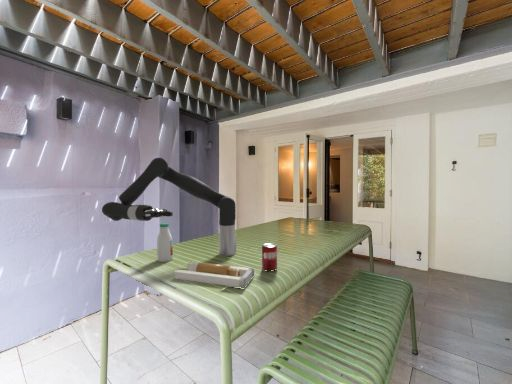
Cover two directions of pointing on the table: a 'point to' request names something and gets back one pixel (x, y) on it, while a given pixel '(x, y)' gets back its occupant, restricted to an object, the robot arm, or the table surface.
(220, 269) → the amber bottle
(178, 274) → the white trough
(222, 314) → the table surface
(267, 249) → the soda can
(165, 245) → the milk bottle
